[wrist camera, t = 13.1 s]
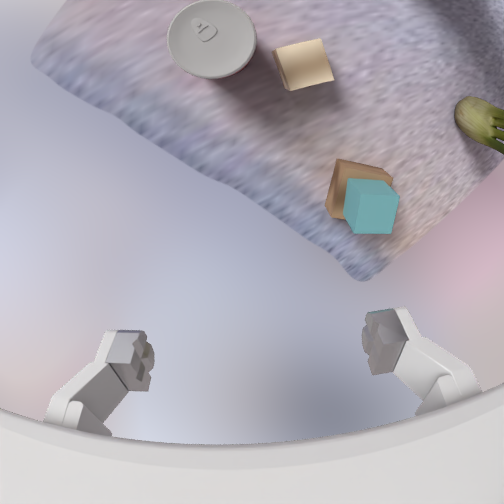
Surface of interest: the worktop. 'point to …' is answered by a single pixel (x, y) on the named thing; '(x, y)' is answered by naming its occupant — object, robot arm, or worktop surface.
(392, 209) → the teal cube
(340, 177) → the walnut slab
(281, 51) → the birch cube
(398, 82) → the worktop surface
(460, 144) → the worktop surface
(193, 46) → the canned food
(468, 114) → the fennel bulb
